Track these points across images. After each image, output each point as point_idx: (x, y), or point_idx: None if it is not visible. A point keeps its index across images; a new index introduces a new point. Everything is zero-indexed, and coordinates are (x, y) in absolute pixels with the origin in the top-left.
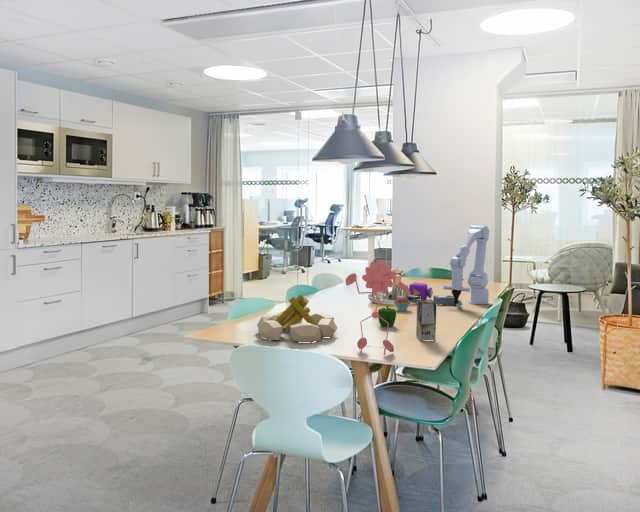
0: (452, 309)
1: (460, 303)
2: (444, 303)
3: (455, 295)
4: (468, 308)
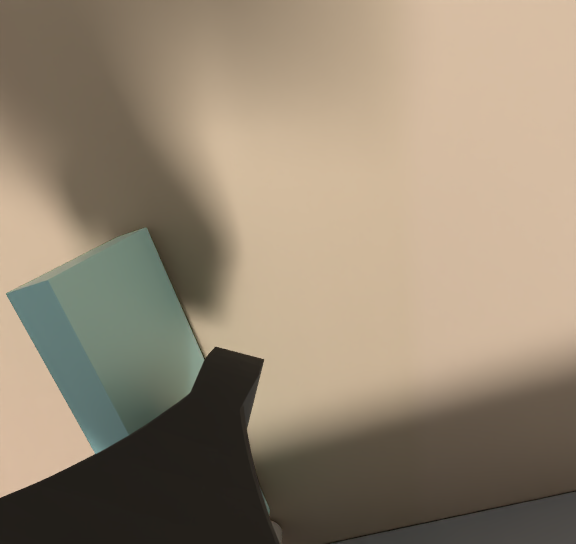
0: (285, 55)
1: (71, 263)
2: (498, 536)
3: (140, 506)
4: (5, 314)
